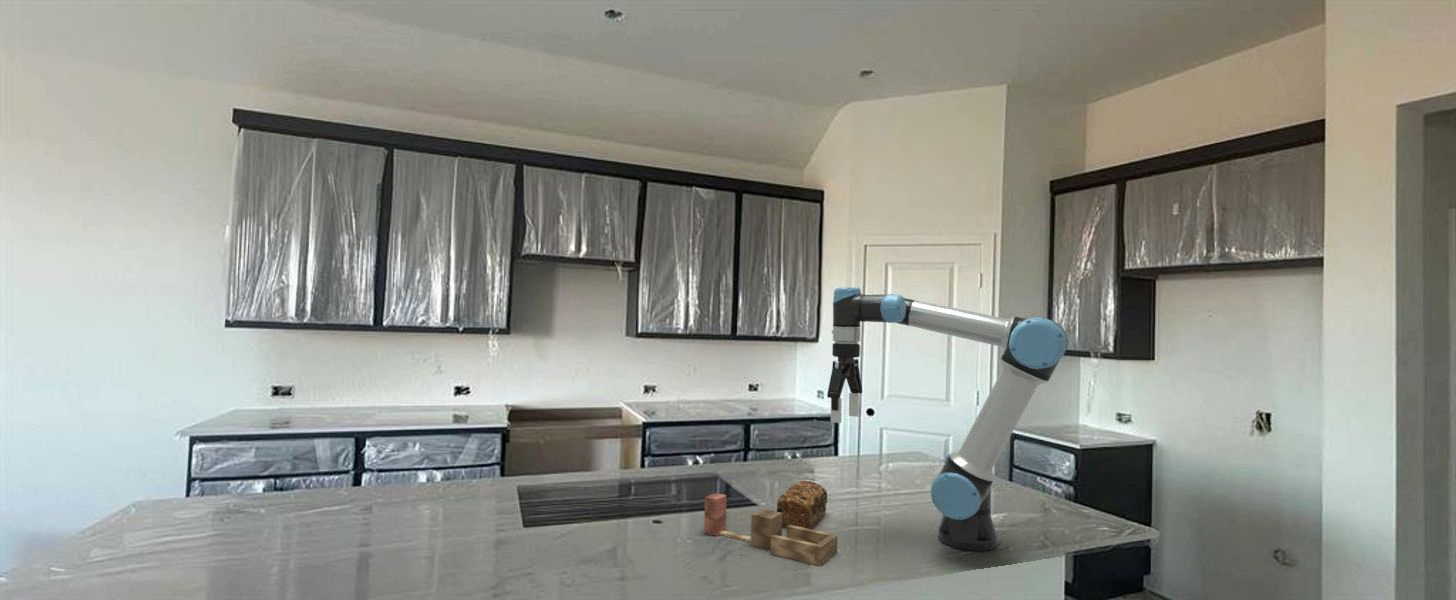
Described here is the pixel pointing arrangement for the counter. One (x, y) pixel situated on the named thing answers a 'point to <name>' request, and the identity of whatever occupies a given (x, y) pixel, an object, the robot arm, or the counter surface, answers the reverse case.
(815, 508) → the bread
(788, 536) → the frame
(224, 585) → the counter surface
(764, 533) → the tethered block
